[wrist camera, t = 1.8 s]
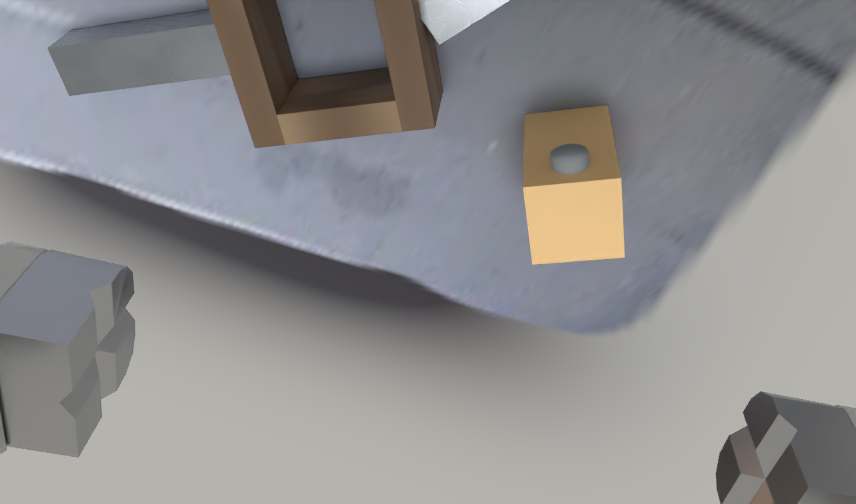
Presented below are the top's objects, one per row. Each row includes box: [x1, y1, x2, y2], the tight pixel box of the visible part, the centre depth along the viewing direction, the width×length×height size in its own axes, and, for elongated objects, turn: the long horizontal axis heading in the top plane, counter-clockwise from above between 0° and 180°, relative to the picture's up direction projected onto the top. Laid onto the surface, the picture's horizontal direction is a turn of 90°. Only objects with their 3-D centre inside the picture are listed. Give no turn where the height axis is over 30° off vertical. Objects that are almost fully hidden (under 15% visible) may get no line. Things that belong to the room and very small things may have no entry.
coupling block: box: [523, 105, 625, 264], centre depth 37 cm, size 4×5×7 cm
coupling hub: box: [206, 0, 443, 148], centre depth 35 cm, size 8×8×4 cm
